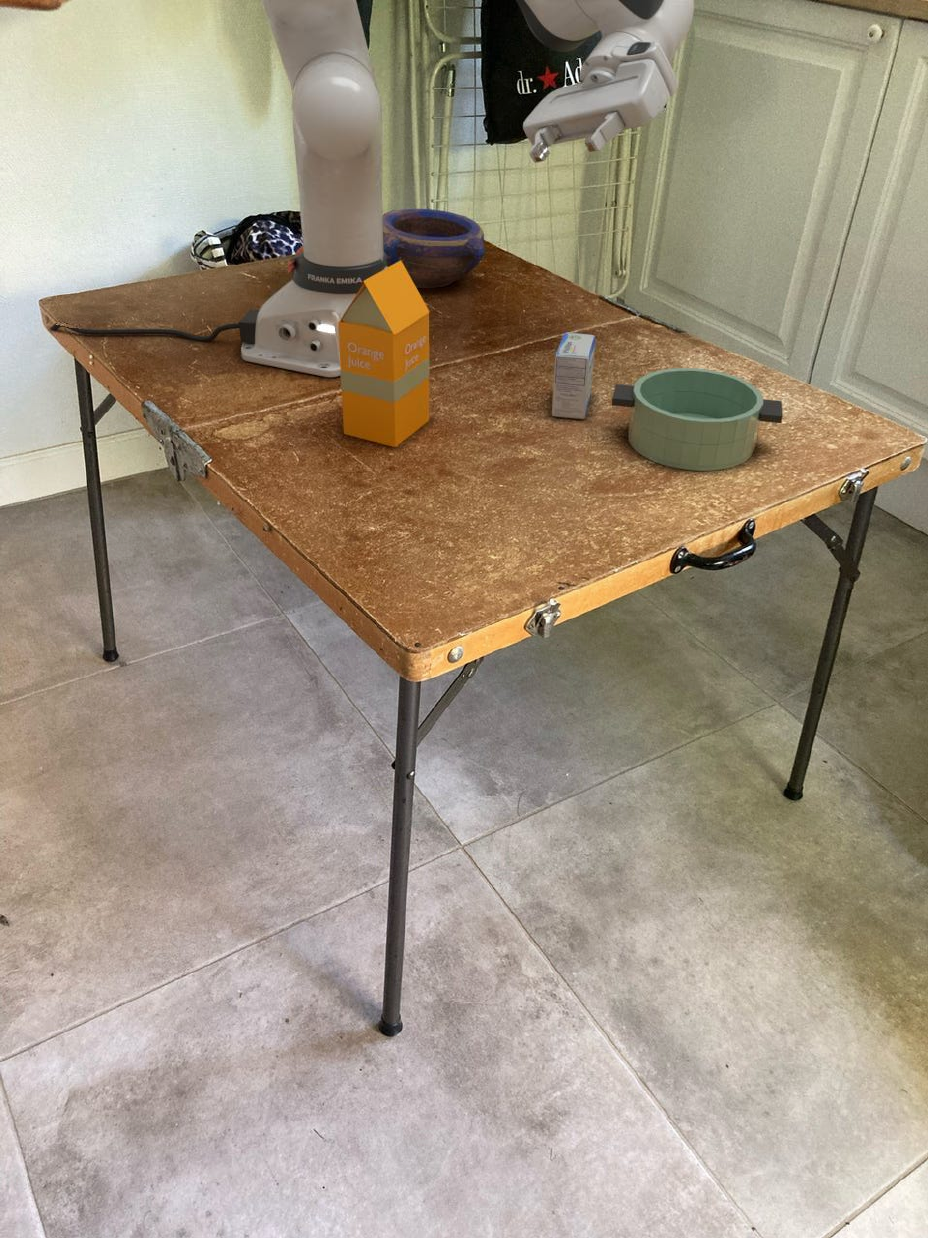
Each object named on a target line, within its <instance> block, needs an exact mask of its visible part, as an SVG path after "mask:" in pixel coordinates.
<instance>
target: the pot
mask: <svg viewBox="0 0 928 1238" xmlns="http://www.w3.org/2000/svg"><path fill="white" fill-rule="evenodd" d="M633 386H634V390H633V398H634V402H633V408H631V407H630V415H629V416H630V417H629V424H628V426H629V427H628V433H627V434H628V442H629V444H630V446H631V447H632V448H633V450H634V451H636V452H637V454H639V455H640V456H642V457H644V458H646V459H647V460H649V461H651V462H654V463H657V464H659V465H662V466H666V467H669V468H674V469H678V470H685V471H694V472H695V471H696V472H711V471H712V472H713V471H723V470H726V469H731V468H734V467H737V466H740V465H742V464H743V463H745V462H747V461H748V460H749V459H750V458H751V457H752V455H753V454H754V450H755V447H756V442H757V438H758V432H759V427H760V422H761V421H759V417H760V413H761V411H762V408H763V399H764V396H763V394H762V392H760V390H759V389H758V388H757V387H756V386H754V384H752V383H751V382H749V381H747V380H745V379H742V378H740V377H739V376H735V375H733V374H729V373H726V372H721V371H717V370H712V369H707V368H697V367H677V368H676V367H673V368H665V369H659V370H656V371H652V372H649V373H646V375H643V376H641V377H640V378H639V379H638V380H637V381H636V382H635V383H634V385H633Z"/></svg>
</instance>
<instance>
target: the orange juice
mask: <svg viewBox="0 0 928 1238" xmlns="http://www.w3.org/2000/svg"><path fill="white" fill-rule="evenodd" d="M338 331H339V349H340V368H341V370H340V376H339V377H340V390H341V401H342V419H343V424H342V425H343V434H344V435H347V436H349V437H354V438H358V439H361V440H366V441H370V442H374V443H376V444H381V445H385V446H388V447H392V448H397V447H398V446H399V445H401V444H402V443H403V442H404V441H405V440H407V439H408V438H409V437H410V436H412V435H413V434H414V433H416V432H417V431H418V430H420V428H422V427H423V426H424V425H426V424H427V423H428V422H429V421H430V377H431V376H430V367H431V365H430V309H429V308H428V306H427V305H426V303H425V301H424V299H423V297H422V295H421V294H420V292H419V290H418V287H416V286H415V285H414V283H413V281H412V279H411V277H410V276H409V274H408V272H407V270H406V268H405V266H404V265H403V263H402V261H399V262H397V263H395V264H393V265H392V266H390V267H388V268H386V269H384V270H382V271H381V272H379V273H377V274H375V275H373V276H372V277H370V278H368V279H366V280H364V284H363V285H362V287H361V288H360V290H359V291H358V293H357V295H356V296H355V298H354V299H353V301H352V302H351V304H350V306H349V307H348V309H347V310H346V312H345V313H344V315H343V317H342V318H341V320H340V321H339V322H338Z"/></svg>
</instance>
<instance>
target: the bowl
mask: <svg viewBox="0 0 928 1238" xmlns="http://www.w3.org/2000/svg"><path fill="white" fill-rule="evenodd" d="M484 242H485V233H484V230H483V228H482V227H481V226H480V225H479V223H478V222H476V221H475V220H473V219H471V218H469V217H468V216H466V215H462V214H458V213H454V212H451V211H446V210H441V209H431V208H403V209H391V210H388V211H387V212H384V213H383V248H384V252H385V253H386V255H387V266H388V267H390V266H392V265H393V264H395V263H397V262H399V261H402V263H403V265H404V266H405V268H406V270H407V272H408V274H409V276H410V277H411V279H412V281H413V283H414V285H415V286H416V288H417V289H418V288H419V289H434V288H441V287H445V286H448V285H451V284H452V283H454V281H456V280H457V279H459V278H461V277H463V276H465V275H467V274H469V273H470V272H472V271H473V270H474V269H475V268H476V267H477V266H478V264H480V263H481V261H482V260H483V258H484V256H485V253H486V248H485V245H484Z"/></svg>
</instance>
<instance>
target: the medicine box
mask: <svg viewBox="0 0 928 1238" xmlns="http://www.w3.org/2000/svg"><path fill="white" fill-rule="evenodd" d="M595 350H596V336H595V335H594V334H586V333H577V332H576V333H575V332H565V333H563V334H562V337H561V340H560V343H559V346H558V348H557V351H556V353H555V357H554V365H553V385H552V400H551V402H552V403H551V416H552V417H555V418H565V419H575V420H585V418H586V415H587V411H588V407H589V404H590V399H591V394H592V385H593V372H594V363H595V362H594V361H595Z"/></svg>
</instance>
